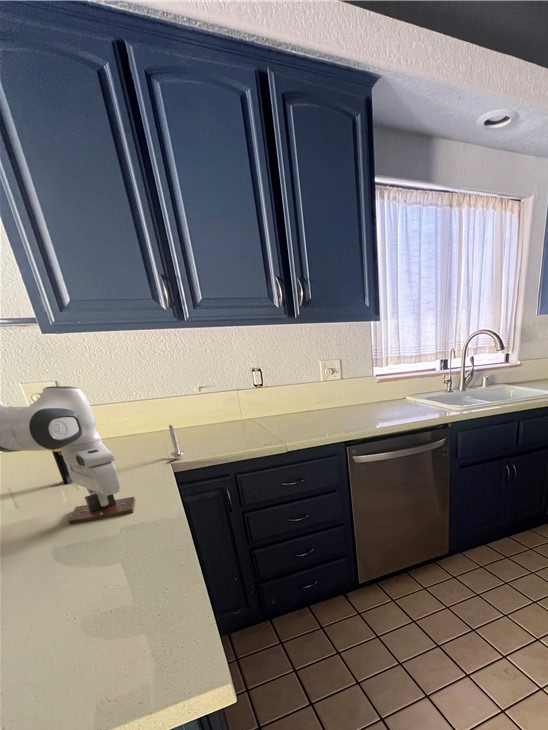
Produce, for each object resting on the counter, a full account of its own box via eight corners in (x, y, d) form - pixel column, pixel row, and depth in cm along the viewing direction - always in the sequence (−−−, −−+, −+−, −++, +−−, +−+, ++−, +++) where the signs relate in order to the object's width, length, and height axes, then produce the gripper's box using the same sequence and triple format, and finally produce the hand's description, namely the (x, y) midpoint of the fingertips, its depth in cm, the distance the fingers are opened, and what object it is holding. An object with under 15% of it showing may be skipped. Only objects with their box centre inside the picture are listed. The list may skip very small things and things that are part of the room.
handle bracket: (77, 490, 134) (63, 451, 129) (51, 490, 135) (35, 451, 129) (101, 478, 144) (89, 441, 138) (77, 478, 145) (63, 441, 139)
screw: (168, 460, 160) (178, 456, 164) (179, 460, 159) (188, 457, 163) (160, 425, 155) (169, 422, 159) (170, 426, 154) (180, 423, 158)
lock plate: (72, 531, 106) (67, 520, 105) (79, 516, 115) (75, 506, 113) (135, 519, 112) (131, 508, 110) (137, 506, 120) (134, 495, 119)
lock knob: (92, 512, 109) (86, 497, 107) (89, 511, 110) (84, 496, 108) (116, 504, 114) (111, 489, 112) (113, 503, 114) (108, 488, 113)
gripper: (53, 450, 109) (71, 500, 115) (88, 461, 98) (106, 516, 104) (80, 444, 114) (96, 493, 119) (116, 454, 103) (132, 507, 108)
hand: (101, 504), depth 111 cm, fingers closed on lock knob, 2 cm apart
